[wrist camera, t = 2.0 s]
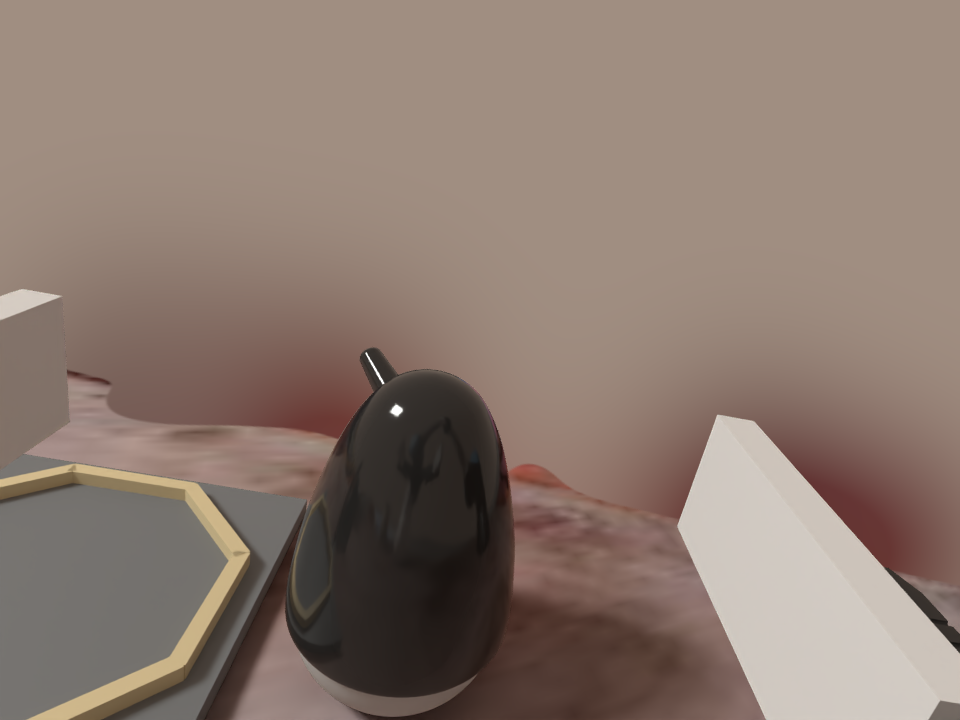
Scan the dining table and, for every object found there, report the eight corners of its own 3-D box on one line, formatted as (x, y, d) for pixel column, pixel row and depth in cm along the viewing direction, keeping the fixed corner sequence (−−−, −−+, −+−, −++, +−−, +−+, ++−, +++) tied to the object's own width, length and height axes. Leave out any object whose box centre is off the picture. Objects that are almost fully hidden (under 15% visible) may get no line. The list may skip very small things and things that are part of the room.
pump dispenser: (418, 560, 37) (458, 321, 31) (535, 691, 29) (614, 411, 24) (246, 623, 30) (259, 337, 25) (342, 811, 23) (390, 465, 18)
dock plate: (305, 512, 39) (307, 488, 38) (130, 869, 20) (128, 835, 20) (-14, 461, 38) (-18, 436, 38) (-504, 784, 19) (-527, 745, 19)
